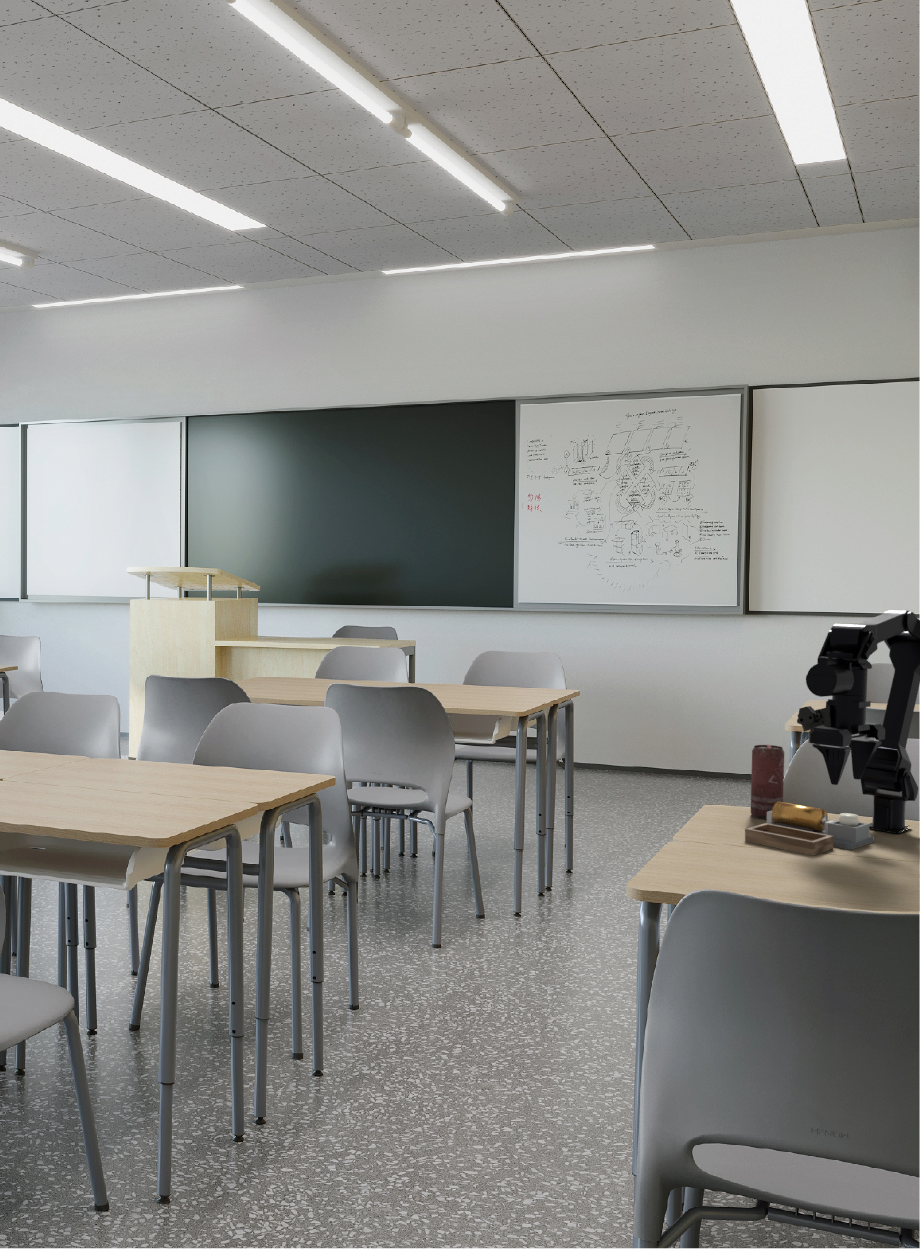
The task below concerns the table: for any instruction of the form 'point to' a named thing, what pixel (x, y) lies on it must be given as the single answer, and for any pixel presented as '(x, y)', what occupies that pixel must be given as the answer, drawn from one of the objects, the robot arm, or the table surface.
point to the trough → (789, 838)
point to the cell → (799, 815)
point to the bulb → (848, 819)
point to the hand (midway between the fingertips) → (845, 781)
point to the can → (766, 779)
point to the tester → (838, 833)
